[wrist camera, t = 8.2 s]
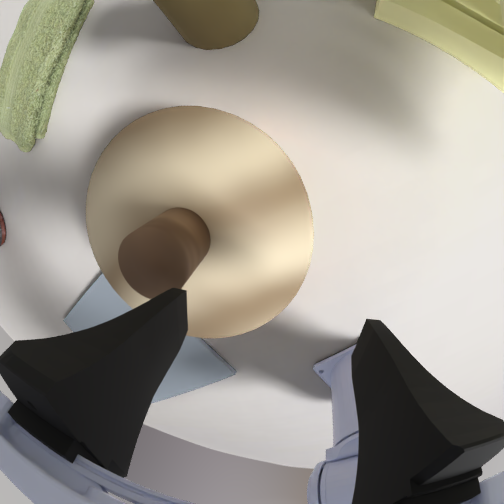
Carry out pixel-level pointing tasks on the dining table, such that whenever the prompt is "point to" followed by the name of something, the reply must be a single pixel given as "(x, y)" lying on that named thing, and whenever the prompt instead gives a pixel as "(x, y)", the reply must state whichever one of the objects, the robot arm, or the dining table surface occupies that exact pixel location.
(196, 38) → the cork
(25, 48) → the washcloth
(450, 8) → the slatted curved stool
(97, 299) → the slate mat
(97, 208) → the birch lid
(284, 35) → the dining table surface
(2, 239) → the supplement bottle
